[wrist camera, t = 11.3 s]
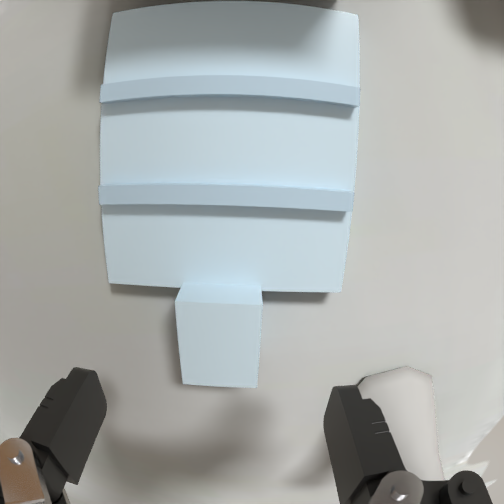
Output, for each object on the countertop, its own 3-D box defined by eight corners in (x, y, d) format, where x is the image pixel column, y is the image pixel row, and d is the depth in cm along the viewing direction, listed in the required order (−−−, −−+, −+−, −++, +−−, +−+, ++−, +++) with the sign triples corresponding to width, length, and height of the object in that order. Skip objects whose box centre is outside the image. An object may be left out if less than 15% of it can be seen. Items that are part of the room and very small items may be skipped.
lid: (121, 21, 11) (97, -2, 8) (350, 23, 11) (372, -1, 8) (128, 342, 16) (110, 374, 13) (322, 350, 16) (334, 385, 14)
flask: (321, 435, 19) (346, 553, 10) (356, 362, 17) (416, 504, 7) (402, 430, 20) (442, 525, 10) (444, 362, 17) (514, 464, 8)
